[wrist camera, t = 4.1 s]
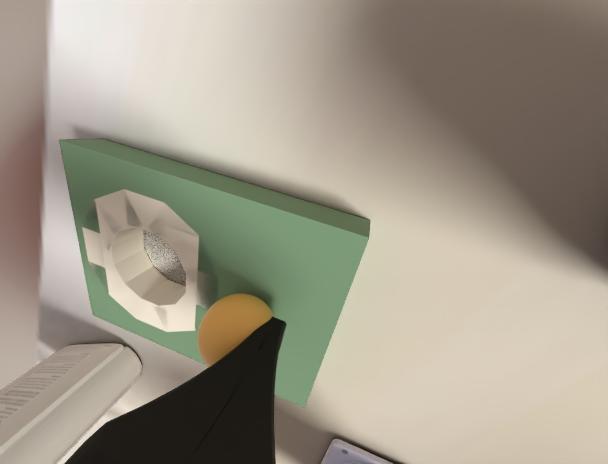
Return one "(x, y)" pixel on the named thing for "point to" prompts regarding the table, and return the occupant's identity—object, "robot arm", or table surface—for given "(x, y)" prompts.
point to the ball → (230, 325)
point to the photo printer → (62, 400)
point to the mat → (209, 252)
